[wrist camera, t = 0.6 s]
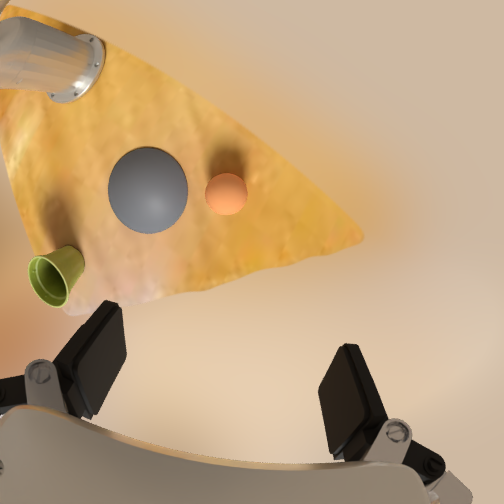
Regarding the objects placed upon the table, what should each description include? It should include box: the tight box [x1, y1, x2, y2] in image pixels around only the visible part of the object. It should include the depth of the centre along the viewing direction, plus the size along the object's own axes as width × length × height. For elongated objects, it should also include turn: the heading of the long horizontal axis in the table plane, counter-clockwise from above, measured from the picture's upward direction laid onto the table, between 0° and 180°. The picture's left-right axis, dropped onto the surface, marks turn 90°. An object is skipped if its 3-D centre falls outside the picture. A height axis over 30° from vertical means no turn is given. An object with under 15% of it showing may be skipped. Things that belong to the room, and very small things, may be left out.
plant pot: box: [28, 246, 85, 308], centre depth 37 cm, size 9×9×9 cm
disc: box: [108, 148, 188, 234], centre depth 37 cm, size 13×13×1 cm
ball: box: [205, 173, 247, 215], centre depth 35 cm, size 6×6×6 cm
